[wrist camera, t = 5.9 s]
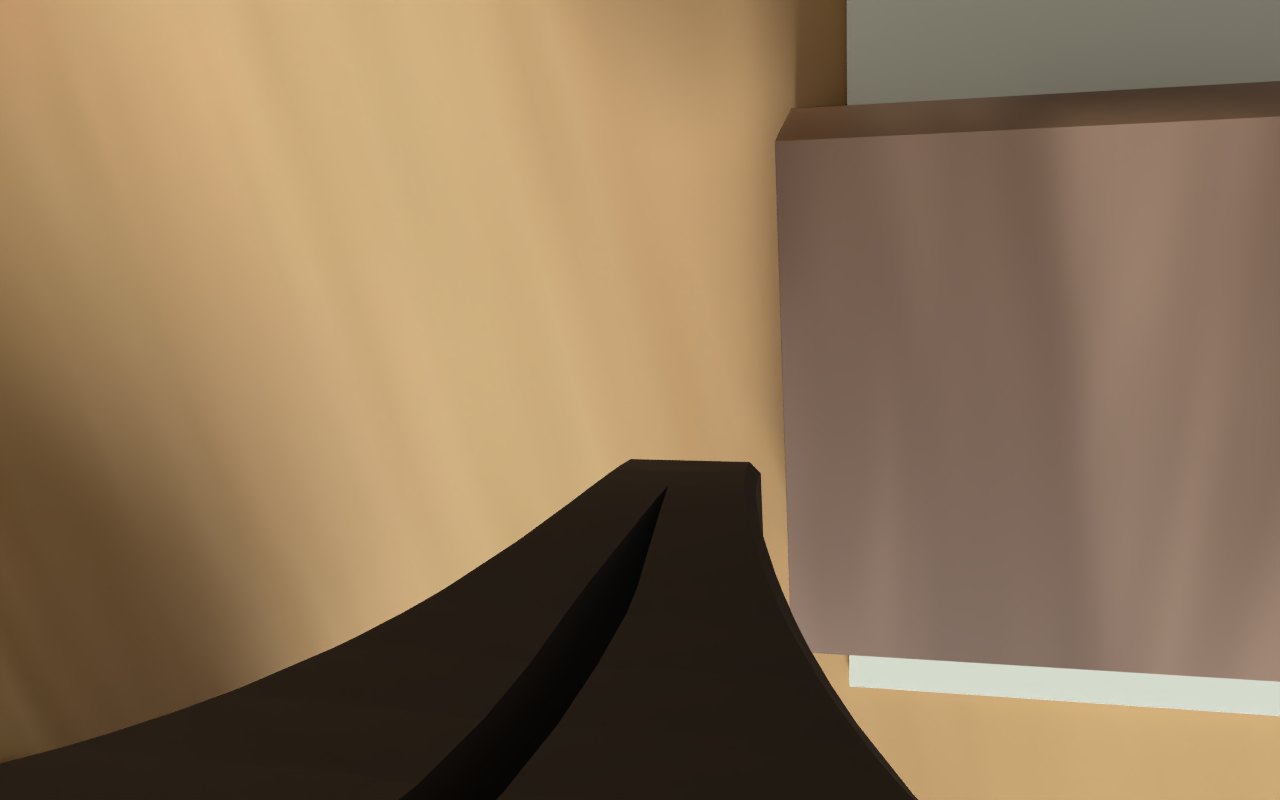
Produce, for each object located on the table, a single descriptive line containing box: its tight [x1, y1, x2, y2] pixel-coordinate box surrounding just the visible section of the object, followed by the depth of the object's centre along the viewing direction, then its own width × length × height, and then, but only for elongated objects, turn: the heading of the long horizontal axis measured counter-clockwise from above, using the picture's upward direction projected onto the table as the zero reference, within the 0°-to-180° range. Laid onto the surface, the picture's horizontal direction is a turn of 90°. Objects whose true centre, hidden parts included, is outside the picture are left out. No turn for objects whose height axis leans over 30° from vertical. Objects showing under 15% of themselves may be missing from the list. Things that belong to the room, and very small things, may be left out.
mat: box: [847, 0, 1280, 716], centre depth 14 cm, size 10×12×1 cm
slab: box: [775, 81, 1280, 682], centre depth 13 cm, size 2×7×7 cm
